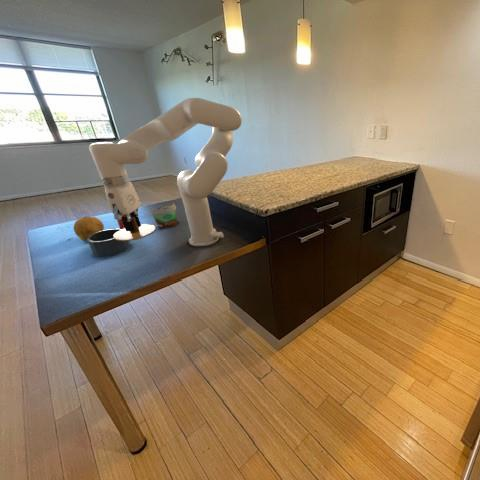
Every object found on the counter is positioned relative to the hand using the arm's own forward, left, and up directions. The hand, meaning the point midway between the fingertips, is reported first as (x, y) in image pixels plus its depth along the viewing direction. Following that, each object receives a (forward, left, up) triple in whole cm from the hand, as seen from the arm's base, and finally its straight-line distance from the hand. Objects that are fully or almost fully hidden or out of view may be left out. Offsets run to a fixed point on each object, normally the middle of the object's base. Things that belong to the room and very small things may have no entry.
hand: (133, 228), depth 98 cm
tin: (+16, -7, -13) cm, 22 cm away
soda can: (+16, -21, -14) cm, 30 cm away
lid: (0, 0, -2) cm, 2 cm away
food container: (+4, -33, -14) cm, 36 cm away
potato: (+33, -20, -14) cm, 41 cm away
